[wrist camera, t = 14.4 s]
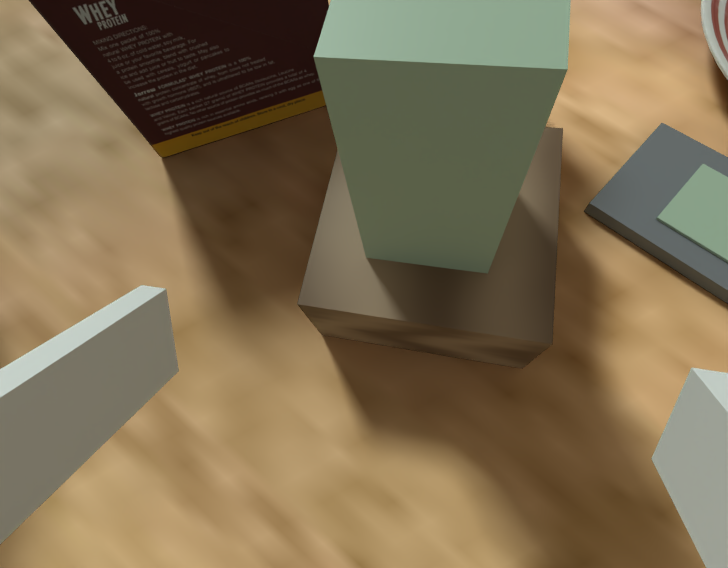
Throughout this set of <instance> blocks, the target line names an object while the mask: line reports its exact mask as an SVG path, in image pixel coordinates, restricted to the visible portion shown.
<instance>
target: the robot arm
mask: <svg viewBox="0 0 728 568" xmlns="http://www.w3.org/2000/svg"><path fill="white" fill-rule="evenodd" d="M178 371H179V369H178V363H177V356H176V350H175V343H174V337H173V330H172V324H171V317H170V311H169V304H168V297H167V291H166V289H164V288H157V287H151V286H144V285H141V286H139V287H138V288H136V289H134V290H133V291H131V292H129V293H127V294H126V295H124V296H122V297H121V298H119V299H117V300H116V301H114V302H112V303H111V304H109V305H107V306H106V307H104V308H102V309H101V310H99V311H97V312H96V313H94V314H92V315H91V316H89V317H87V318H85V319H84V320H82V321H80V322H79V323H77V324H75V325H74V326H72V327H70V328H69V329H67V330H65V331H64V332H62V333H60V334H59V335H57V336H55V337H54V338H52V339H50V340H48V341H47V342H45V343H43V344H42V345H40V346H38V347H37V348H35V349H33V350H32V351H30V352H28V353H27V354H25V355H23V356H22V357H20V358H18V359H17V360H15V361H13V362H12V363H10V364H8V365H6V366H5V367H3V368H1V369H0V544H1V543H2V542H3V541H4V540H5V539H6V538H7V537H8V536H9V535H11V534H12V533H13V532H14V531H15V530H16V529H17V528H18V527H19V526H20V525H21V524H22V523H23V522H24V521H25V520H26V519H27V518H28V517H29V516H30V515H31V514H32V513H33V512H34V511H35V510H36V509H37V508H38V507H39V506H40V505H41V504H42V503H43V502H45V501H46V500H47V499H48V498H49V497H50V496H51V495H52V494H53V493H54V492H55V491H56V490H57V489H58V488H59V487H60V486H61V485H62V484H63V483H64V482H65V481H66V480H67V479H68V478H69V477H70V476H71V475H72V474H73V473H74V472H75V471H76V470H77V469H78V468H80V467H81V466H82V465H83V464H84V463H85V462H86V461H87V460H88V459H89V458H90V457H91V456H92V455H93V454H94V453H95V452H96V451H97V450H98V449H99V448H100V447H101V446H102V445H103V444H104V443H105V442H106V441H107V440H108V439H109V438H110V437H111V436H112V435H114V434H115V433H116V432H117V431H118V430H119V429H120V428H121V427H122V426H123V425H124V424H125V423H126V422H127V421H128V420H129V419H130V418H131V417H132V416H133V415H134V414H135V413H136V412H137V411H138V410H139V409H140V408H141V407H142V406H143V405H144V404H145V403H146V402H148V401H149V400H150V399H151V398H152V397H153V396H154V395H155V394H156V393H157V392H158V391H159V390H160V389H161V388H162V387H163V386H164V385H165V384H166V383H167V382H168V381H169V380H170V379H171V378H172V377H173V376H174V375H175V374H176V373H177V372H178ZM652 461H653V463H654V465H655V467H656V469H657V471H658V473H659V475H660V477H661V479H662V481H663V483H664V485H665V487H666V489H667V491H668V493H669V495H670V497H671V499H672V501H673V503H674V505H675V507H676V509H677V511H678V513H679V515H680V517H681V519H682V521H683V523H684V525H685V527H686V529H687V531H688V533H689V535H690V537H691V539H692V541H693V543H694V544H695V546H696V548H697V550H698V552H699V554H700V556H701V558H702V560H703V562H704V564H705V566H706V568H728V373H723V372H717V371H710V370H703V369H697V368H691V370H690V372H689V374H688V376H687V379H686V381H685V383H684V386H683V388H682V390H681V392H680V395H679V397H678V399H677V402H676V404H675V406H674V408H673V411H672V413H671V415H670V418H669V420H668V422H667V424H666V427H665V429H664V431H663V433H662V436H661V438H660V440H659V443H658V445H657V447H656V449H655V452H654V454H653V456H652Z"/></svg>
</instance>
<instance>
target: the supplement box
mask: <svg viewBox="0 0 728 568" xmlns="http://www.w3.org/2000/svg"><path fill="white" fill-rule="evenodd" d="M29 1H30V2H31V4H32V5H33V6H34V7H35V8H36V10H37V11H38V12H39V13H40V14H41V15H42V17H43V18H44V19H45V20H46V21H47V23H48V24H49V25H50V26H51V27H52V28H53V30H54V31H55V32H56V33H57V34H58V36H59V37H60V38H61V39H62V40H63V41H64V43H65V44H66V45H67V46H68V47H69V49H70V50H71V51H72V52H73V53H74V54H75V56H76V57H77V58H78V59H79V60H80V62H81V63H82V64H83V65H84V66H85V68H86V69H87V70H88V71H89V72H90V73H91V75H92V76H93V77H94V78H95V79H96V81H97V82H98V83H99V84H100V85H101V86H102V88H103V89H104V90H105V91H106V92H107V94H108V95H109V96H110V97H111V98H112V99H113V100H114V102H115V103H116V104H117V105H118V106H119V108H120V109H121V110H122V111H123V112H124V113H125V115H126V116H127V117H128V118H129V119H130V121H131V122H132V123H133V124H134V125H135V126H136V128H137V129H138V130H139V131H140V133H141V134H142V135H143V136H144V137H145V138H146V140H147V141H148V142H149V144H150V145H151V146H152V147H153V149H154V150H155V151H156V152H157V154H158V155H159V156H160V157H167V156H170V155H173V154H176V153H179V152H183V151H186V150H189V149H192V148H195V147H198V146H201V145H204V144H207V143H211V142H214V141H217V140H220V139H223V138H226V137H229V136H232V135H236V134H239V133H242V132H245V131H248V130H251V129H254V128H257V127H260V126H264V125H267V124H270V123H273V122H276V121H279V120H282V119H285V118H288V117H292V116H295V115H298V114H301V113H304V112H307V111H310V110H313V109H316V108H320V107H323V106H326V102H325V99H324V95H323V91H322V87H321V83H320V79H319V76H318V72H317V68H316V64H315V60H314V54H315V51H316V47H317V44H318V41H319V38H320V34H321V31H322V28H323V25H324V21H325V18H326V15H327V12H328V8H329V5H328V0H29Z"/></svg>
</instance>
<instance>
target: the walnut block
mask: <svg viewBox="0 0 728 568" xmlns="http://www.w3.org/2000/svg"><path fill="white" fill-rule="evenodd" d="M562 136H563V128H549V127H545V128H544V131H543V133H542V136H541V139H540V141H539V144H538V146H537V149H536V151H535V154H534V156H533V159H532V162H531V164H530V167H529V169H528V172H527V174H526V177H525V179H524V182H523V185H522V187H521V190H520V192H519V195H518V197H517V200H516V203H515V205H514V208H513V210H512V213H511V215H510V218H509V220H508V223H507V226H506V228H505V231H504V233H503V236H502V238H501V241H500V243H499V246H498V249H497V251H496V254H495V256H494V259H493V261H492V264H491V267H490V269H489V272H488V274H487V273H480V272H472V271H464V270H457V269H449V268H441V267H434V266H426V265H418V264H411V263H403V262H395V261H388V260H380V259H372V258H366V255H365V252H364V248H363V244H362V240H361V236H360V232H359V229H358V225H357V221H356V217H355V213H354V209H353V206H352V202H351V198H350V194H349V190H348V187H347V183H346V179H345V175H344V171H343V167H342V164H341V160H340V156H339V152H338V150H337V154H336V158H335V162H334V166H333V169H332V173H331V177H330V181H329V185H328V189H327V192H326V196H325V200H324V204H323V208H322V211H321V215H320V219H319V223H318V227H317V231H316V234H315V238H314V242H313V246H312V250H311V254H310V257H309V261H308V265H307V269H306V273H305V277H304V280H303V284H302V288H301V292H300V296H299V299H298V303H297V304H298V306H299V307H300V308H301V309H302V311H303V312H304V313H305V314H306V316H307V317H308V318H309V319H310V321H311V322H312V323H313V324H314V326H315V327H316V328H317V329H318V331H319V332H320V333H321V334H322V335H326V336H332V337H338V338H344V339H349V340H355V341H361V342H367V343H373V344H379V345H385V346H391V347H397V348H403V349H409V350H415V351H421V352H427V353H433V354H439V355H445V356H451V357H457V358H463V359H468V360H474V361H480V362H486V363H492V364H498V365H504V366H510V367H516V368H524V367H525V366H526V365H527V364H528V363H530V362H531V361H532V360H533V359H535V358H536V357H537V356H538V355H540V354H541V353H542V352H543V351H545V350H546V349H547V348H548V347H549V346H551V345H552V341H553V321H554V300H555V280H556V259H557V239H558V218H559V198H560V177H561V157H562Z"/></svg>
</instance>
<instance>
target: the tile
mask: <svg viewBox="0 0 728 568" xmlns="http://www.w3.org/2000/svg"><path fill="white" fill-rule="evenodd" d="M584 212H586V213H587V214H589V215H590V216H592V217H594V218H595V219H597V220H598V221H600V222H601V223H603V224H604V225H606V226H608V227H609V228H611V229H612V230H614V231H615V232H617V233H619V234H620V235H622V236H623V237H625V238H626V239H628V240H629V241H631V242H633V243H634V244H636V245H637V246H639V247H640V248H642V249H643V250H645V251H647V252H648V253H650V254H651V255H653V256H654V257H656V258H657V259H659V260H661V261H662V262H664V263H665V264H667V265H668V266H670V267H671V268H673V269H675V270H676V271H678V272H679V273H681V274H682V275H684V276H685V277H687V278H689V279H690V280H692V281H693V282H695V283H696V284H698V285H699V286H701V287H703V288H704V289H706V290H707V291H709V292H710V293H712V294H713V295H715V296H717V297H718V298H720V299H721V300H723V301H724V302H726V303H728V157H726V156H724V155H722V154H720V153H718V152H716V151H715V150H713V149H711V148H709V147H707V146H705V145H703V144H701V143H700V142H698V141H696V140H694V139H692V138H690V137H688V136H686V135H684V134H683V133H681V132H679V131H677V130H675V129H673V128H671V127H669V126H667V125H666V124H664V123H661V124H660V125H659V126H658V128H657V129H656V130H655V131H654V132H653V133H652V134H651V135H650V136H649V138H648V139H647V140H646V141H645V142H644V143H643V144H642V145H641V146H640V148H639V149H638V150H637V151H636V152H635V153H634V154H633V155H632V156H631V158H630V159H629V160H628V161H627V162H626V163H625V164H624V165H623V166H622V168H621V169H620V170H619V171H618V172H617V173H616V174H615V175H614V176H613V178H612V179H611V180H610V181H609V182H608V183H607V184H606V185H605V186H604V188H603V189H602V190H601V191H600V192H599V193H598V194H597V195H596V196H595V198H594V199H593V200H592V201H591V202H590V203H589V205H588V206H587V208H586V209H585V210H584Z"/></svg>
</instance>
